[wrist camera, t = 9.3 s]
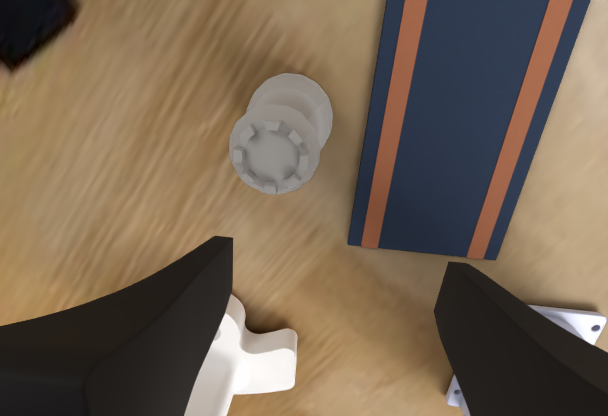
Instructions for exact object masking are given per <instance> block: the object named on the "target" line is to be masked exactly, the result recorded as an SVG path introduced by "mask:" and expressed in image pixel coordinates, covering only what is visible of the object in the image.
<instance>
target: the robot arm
mask: <svg viewBox="0 0 608 416" xmlns="http://www.w3.org/2000/svg"><path fill="white" fill-rule="evenodd" d="M232 281H233V238H230V237H221V236H214V237H212V238H211V239H209V240H208V241H206V242H205V243H203V244H202V245H200V246H199V247H197V248H196V249H194V250H193V251H191V252H189V253H188V254H186V255H185V256H183V257H182V258H180V259H179V260H177V261H175V262H174V263H172V264H170V265H169V266H167V267H165V268H163V269H162V270H160V271H158V272H156V273H155V274H153V275H151V276H149V277H147V278H145V279H143V280H141V281H139V282H137V283H135V284H133V285H131V286H128V287H126V288H124V289H122V290H119V291H117V292H115V293H112V294H109V295H107V296H104V297H101V298H99V299H96V300H93V301H91V302H88V303H85V304H82V305H79V306H76V307H73V308H70V309H67V310H63V311H60V312H56V313H53V314H49V315H46V316H42V317H38V318H34V319H30V320H26V321H21V322H17V323H13V324H8V325H4V326H0V416H184V414H185V411H186V408H187V405H188V402H189V399H190V396H191V393H192V390H193V387H194V384H195V381H196V379H197V376H198V374H199V371H200V369H201V367H202V364H203V362H204V360H205V358H206V355H207V353H208V351H209V349H210V347H211V344H212V342H213V340H214V338H215V335H216V333H217V331H218V329H219V326H220V324H221V322H222V319H223V317H224V315H225V312H226V309H227V305H228V302H229V298H230V295H231V291H232ZM434 314H435V318H436V323H437V327H438V331H439V335H440V339H441V341H442V344H443V347H444V349H445V352H446V354H447V357H448V359H449V362H450V364H451V367H452V369H453V372H454V376H453V378H452V381H451V384H450V387H449V389H448V392H447V395H446V401H447V403H448V404H449V405H451V406H458V407H461V410H462V413H463V415H464V416H608V353H607V352H605V351H604V350H602V349H600V348H598V347H596V346H594V344H595V342H596V340H597V338H598V337H599V335H600V333H601V331H602V329H603V328H604V326H605V324H606V322H607V318H606V317H605V316H604V315H603V314H602V313H600V312H592V311H582V310H573V309H563V308H554V307H545V306H535V305H527V304H525V303H524V302H522V301H521V300H519V299H518V298H517V297H515V296H514V295H512V294H511V293H510V292H508V291H507V290H505V289H504V288H503V287H501V286H500V285H498V284H497V283H496V282H494V281H493V280H492V279H490V278H489V277H487V276H486V275H485V274H483V273H482V272H480V271H479V270H477V269H476V268H474V267H473V266H471V265H469V264H467V263H459V262H448V265H447V269H446V272H445V275H444V278H443V282H442V285H441V288H440V292H439V295H438V298H437V302H436V305H435V308H434ZM594 325H595V326H594Z"/></svg>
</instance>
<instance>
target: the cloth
mask: <svg viewBox="0 0 608 416" xmlns="http://www.w3.org/2000/svg"><path fill="white" fill-rule="evenodd" d="M589 3H590V0H386V7H385V13H384V19H383V25H382V32H381V38H380V44H379V50H378V57H377V63H376V69H375V75H374V81H373V88H372V94H371V100H370V106H369V113H368V119H367V125H366V131H365V138H364V144H363V150H362V156H361V162H360V169H359V175H358V181H357V187H356V194H355V200H354V206H353V212H352V219H351V225H350V231H349V237H348V245H355V246H361V247H369V248H383V249H393V250H402V251H412V252H422V253H431V254H441V255H450V256H460V257H466V258H474V259H488V260H496V258H497V255H498V253H499V250H500V247H501V244H502V242H503V239H504V236H505V233H506V231H507V228H508V225H509V222H510V220H511V217H512V214H513V211H514V209H515V206H516V203H517V201H518V198H519V195H520V192H521V190H522V187H523V184H524V181H525V179H526V176H527V173H528V170H529V168H530V165H531V162H532V159H533V157H534V154H535V151H536V148H537V146H538V143H539V140H540V137H541V135H542V132H543V129H544V126H545V124H546V121H547V118H548V115H549V113H550V110H551V107H552V104H553V102H554V99H555V96H556V94H557V91H558V88H559V85H560V83H561V80H562V77H563V74H564V72H565V69H566V66H567V63H568V61H569V58H570V55H571V52H572V50H573V47H574V44H575V41H576V39H577V36H578V33H579V30H580V28H581V25H582V22H583V19H584V17H585V14H586V11H587V8H588V6H589Z"/></svg>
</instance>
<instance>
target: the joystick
mask: <svg viewBox="0 0 608 416" xmlns="http://www.w3.org/2000/svg"><path fill="white" fill-rule="evenodd" d="M245 317H246V315H245V310H244V307H243V305H242V304H241V302H240V301H239V300H238V299H237V298H236V297H235V296H233V295H232V294H231V295H230V298H229V302H228V305H227V309H226V312H225V315H224V317H223V319H222V322H221V324H220V326H219V329H218V331H217V333H216V335H215V338H214V340H213V342H212V344H211V347H210V349H209V351H208V353H207V355H206V358H205V360H204V362H203V364H202V367H201V369H200V371H199V374H198V376H197V379H196V381H195V384H194V387H193V390H192V393H191V396H190V399H189V402H188V405H187V408H186V411H185V414H184V416H226V415H227V412H228V409H229V406H230V403H231V400H232V397H233V394H256V393H267V392H275V391H281V390H287V389H291V388H292V387H293V386H294V383H295V372H296V361H297V333H296V332H295V331H294V330H292V329H282V330H278V331H274V332H269V333H264V334H254V333H252V332H250V331H249V330H247V328H246V327H245Z"/></svg>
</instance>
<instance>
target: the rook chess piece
mask: <svg viewBox="0 0 608 416" xmlns="http://www.w3.org/2000/svg"><path fill="white" fill-rule="evenodd" d="M332 120H333V111H332V108H331V104H330V101H329V98H328V96H327V95H326V93H325V92H324V91H323V90H322V88H321V87H320V86H319V85H318V83H316V82H315V81H313V80H311V79H309V78H307V77H305V76H303V75H301V74H289V73H283V74H280V75H277V76H275V77H272V78H269V79H267V80H266V81H265V82H264V83H263V84H262V85H261V86H260V87H259V88H258V89H257V90H256V91H255V93H254V94H253V96H252V98H251V100H250V103H249V105H248V107H247V113H246V114H245V115H244V116H242V117H241V118H240V119H239V120H238V121H237V122H236V124H235V126H234V129H233V131H232V133H231V136H230V138H229V157H230V159H231V161H232V164H233V166H234V168H235V171H236V173H237V174H238V175H239V177H240V178H241V179H242V180H243V181H244V182H245V183H246V184H247V185H248V186H249V187H250V186H251V187H253V188H255V189H257V190H259V191H261V192H263V193H264V194H275V195H277V194H284V193H288V192H291V191H294V190H298V189H299V188H300V187H301V186H303V185H304V184H305V183H306V182H308V181H309V180H310V179H311V178H312V176H313V174H314V172H315V170H316V168H317V166H318V165H319V157H320V150H321V149H322V148H323V146H324V144H325V143H326V141H327V139H328V137H329V135H330V132H331V129H332Z"/></svg>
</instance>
